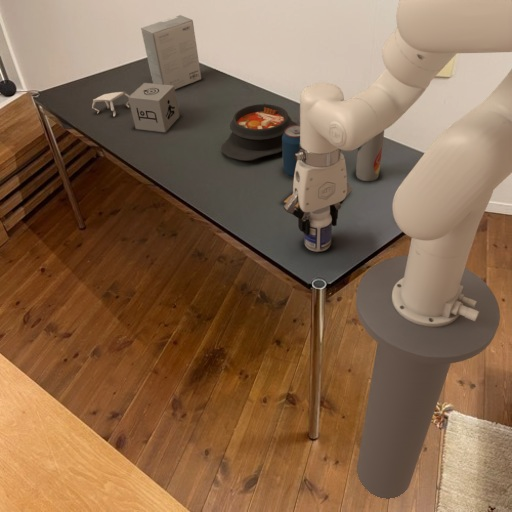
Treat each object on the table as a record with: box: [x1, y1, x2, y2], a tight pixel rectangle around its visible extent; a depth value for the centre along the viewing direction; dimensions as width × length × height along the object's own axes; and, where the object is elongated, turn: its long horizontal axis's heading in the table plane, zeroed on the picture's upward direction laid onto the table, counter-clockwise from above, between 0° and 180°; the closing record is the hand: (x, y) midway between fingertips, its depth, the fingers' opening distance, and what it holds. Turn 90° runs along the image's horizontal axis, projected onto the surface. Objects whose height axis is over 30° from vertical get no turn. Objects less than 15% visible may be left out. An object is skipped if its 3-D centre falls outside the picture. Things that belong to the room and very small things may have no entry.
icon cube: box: [127, 82, 180, 133], centre depth 152 cm, size 10×10×10 cm
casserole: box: [220, 103, 299, 162], centre depth 139 cm, size 25×19×8 cm
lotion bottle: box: [355, 130, 385, 182], centre depth 121 cm, size 6×6×20 cm
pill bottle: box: [303, 206, 333, 253], centre depth 107 cm, size 6×6×10 cm
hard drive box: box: [140, 14, 202, 90], centre depth 169 cm, size 16×8×20 cm, turn 130°
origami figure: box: [91, 91, 130, 117], centre depth 161 cm, size 12×8×5 cm
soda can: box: [281, 124, 300, 179], centre depth 127 cm, size 7×7×12 cm
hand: (317, 226), depth 107 cm, fingers closed on pill bottle, 5 cm apart
